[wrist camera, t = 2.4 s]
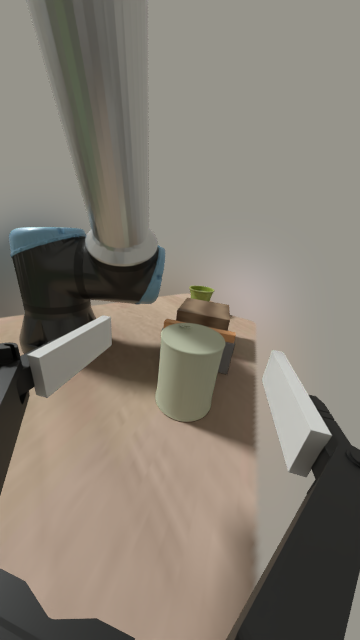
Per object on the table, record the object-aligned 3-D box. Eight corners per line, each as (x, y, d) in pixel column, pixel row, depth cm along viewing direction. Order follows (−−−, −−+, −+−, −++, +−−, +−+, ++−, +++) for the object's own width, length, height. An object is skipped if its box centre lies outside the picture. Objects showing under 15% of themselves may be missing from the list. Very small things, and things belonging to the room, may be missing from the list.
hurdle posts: (159, 358, 40) (162, 329, 37) (163, 352, 42) (165, 324, 39) (226, 374, 37) (234, 344, 34) (226, 367, 39) (234, 338, 37)
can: (194, 374, 36) (204, 318, 31) (222, 411, 29) (241, 345, 24) (148, 384, 32) (152, 321, 28) (167, 431, 25) (177, 356, 20)
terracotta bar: (163, 328, 37) (164, 321, 37) (165, 325, 39) (166, 318, 38) (233, 343, 35) (235, 335, 34) (233, 339, 36) (235, 332, 36)
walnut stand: (173, 343, 46) (177, 310, 42) (183, 325, 57) (187, 297, 53) (221, 354, 44) (229, 320, 40) (222, 333, 55) (228, 305, 51)
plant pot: (198, 316, 66) (202, 292, 63) (181, 307, 72) (184, 286, 69) (215, 312, 72) (219, 290, 68) (198, 305, 78) (201, 285, 75)
